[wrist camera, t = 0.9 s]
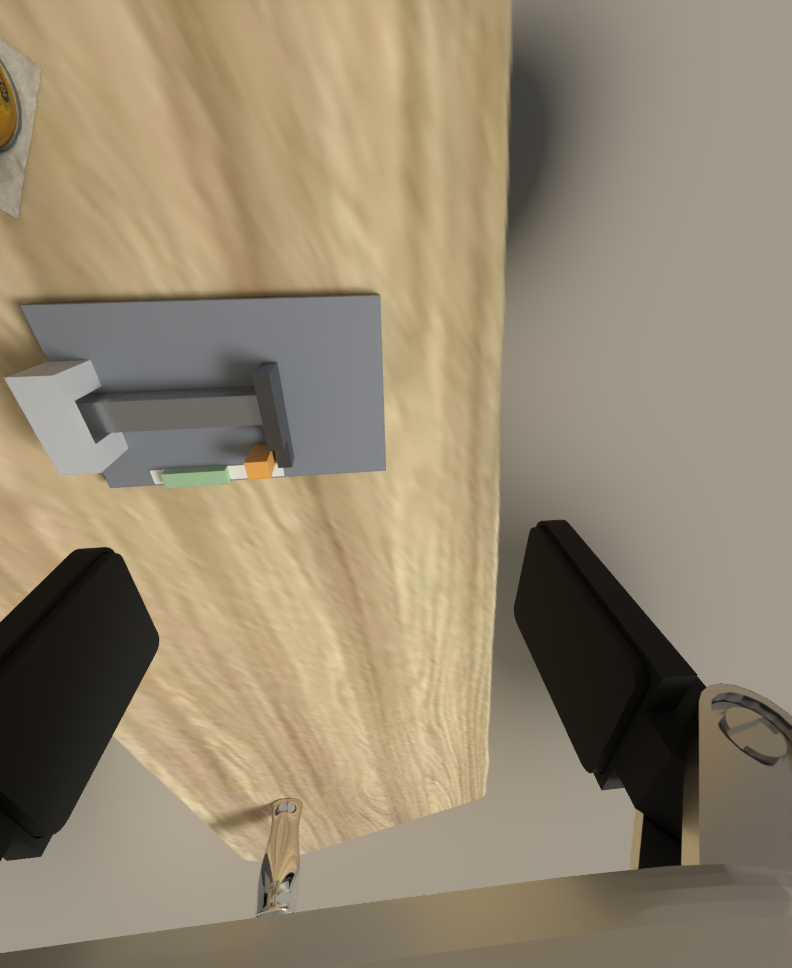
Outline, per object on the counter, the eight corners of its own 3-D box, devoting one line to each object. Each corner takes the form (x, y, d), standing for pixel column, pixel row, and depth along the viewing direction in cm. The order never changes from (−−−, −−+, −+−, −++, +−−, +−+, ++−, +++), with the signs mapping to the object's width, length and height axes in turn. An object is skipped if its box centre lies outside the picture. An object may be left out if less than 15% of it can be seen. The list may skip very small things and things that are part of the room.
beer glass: (262, 804, 74) (244, 918, 62) (291, 793, 73) (279, 907, 61) (283, 814, 78) (271, 923, 65) (312, 804, 77) (304, 913, 64)
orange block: (253, 443, 33) (243, 462, 30) (274, 442, 33) (266, 461, 30) (257, 459, 34) (248, 479, 31) (277, 458, 34) (270, 478, 31)
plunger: (72, 370, 28) (40, 384, 26) (277, 362, 30) (269, 374, 27) (118, 469, 33) (95, 490, 30) (294, 458, 34) (289, 478, 31)
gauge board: (32, 303, 27) (-33, 314, 22) (379, 294, 29) (384, 302, 24) (117, 481, 35) (82, 515, 30) (385, 464, 37) (389, 494, 32)
